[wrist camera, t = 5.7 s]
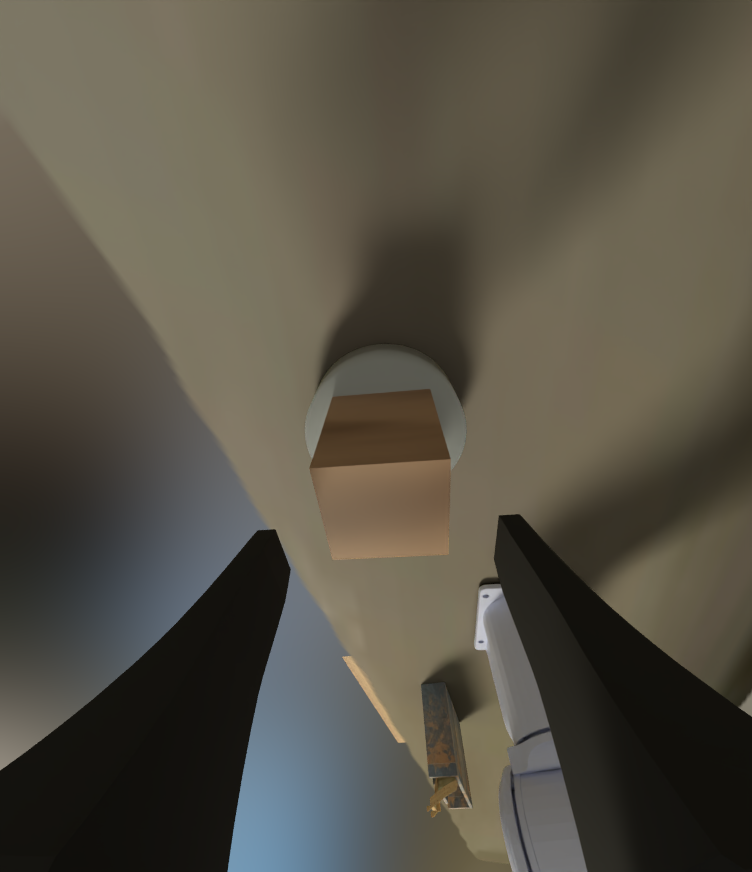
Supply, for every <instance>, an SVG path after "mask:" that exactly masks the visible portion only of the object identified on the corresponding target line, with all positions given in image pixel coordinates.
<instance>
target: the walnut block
mask: <svg viewBox="0 0 752 872" xmlns="http://www.w3.org/2000/svg"><path fill="white" fill-rule="evenodd" d="M309 469H310V473H311V477H312V481H313V485H314V489H315V492H316V496H317V500H318V504H319V508H320V512H321V516H322V520H323V524H324V528H325V532H326V536H327V540H328V544H329V548H330V551H331V555H332V559H333V560H340V559H362V558H384V557H406V556H428V555H448V550H449V512H450V473H451V458H450V455H449V451H448V448H447V444H446V441H445V438H444V434H443V431H442V427H441V424H440V421H439V417H438V414H437V410H436V407H435V404H434V400H433V397H432V393H431V390H430V389H421V390H409V391H397V392H385V393H372V394H360V395H348V396H336V397H332V400H331V403H330V406H329V409H328V412H327V415H326V418H325V422H324V425H323V428H322V431H321V434H320V437H319V440H318V443H317V446H316V449H315V453H314V456H313V459H312V462H311V465H310V468H309Z"/></svg>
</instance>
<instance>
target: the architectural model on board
mask: <svg viewBox="0 0 752 872" xmlns="http://www.w3.org/2000/svg"><path fill="white" fill-rule="evenodd" d="M342 658H343V659H344V661H345V662H346V664H347V665H348V667H349V668H350V670H351V672H352V673H353V675H354V676H355V678H356V679H357V681H358V682H359V684H360V685H361V687H362V688H363V690H364V691H365V693H366V694H367V696H368V698H369V699H370V701H371V702H372V704H373V705H374V707H375V708H376V710H377V711H378V713H379V714H380V716H381V717H382V719H383V720H384V722H385V724H386V725H387V727H388V728H389V730H390V731H391V733H392V734H393V736H394V737H395V739H396V740H397V742H398V743H404V742H405V741H404V739H403V738H402V736H401V735H400V734H399V733H398V732H397V730H396V729H395V727H394V726H393V725H392V722H391V721H390V718H389V716H388V713H387V712H386V710H385V708H384V707H383V705H382V704H381V703H380V702H379V700H378V698H377V697H376V695H375V693H374V691H373V689H372V686H371V685H370V683H369V680H368V679H367V678H366V677H365V675H364V674H363V672H362V670H361V669H360V668H359V667H358V665H357V664H356V663H355V662H354V660H353V659H352V657H351V656H345V657H342ZM421 688H422V700H423V712H424V724H425V736H426V748H427V760H428V771H429V778H433V784H434V785H435V794H434V795H433V796H432V797H431V798H430V804H431V805H430V806H427V811H429V810H430V809H431V808H432V810H433V811H431V817H434V816H435V815H436V814H437V813H438V812H439V811H441V808H440V801H441V800H442V799H443V800H444V802H445V804H448V809H463V808H473V807H472V800H471V794H470V788H469V781H468V775H467V768H466V762H465V756H464V749H463V743H462V736H461V730H460V724H459V720H458V717H457V715H456V712H455V709H454V706H453V704H452V701H451V698H450V695H449V693H448V690H447V687H446V684H445V682H440V683H430V684H421Z"/></svg>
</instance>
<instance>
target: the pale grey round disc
mask: <svg viewBox="0 0 752 872" xmlns="http://www.w3.org/2000/svg"><path fill="white" fill-rule="evenodd" d="M421 389H430V390H431V393H432V397H433V400H434V404H435V407H436V410H437V414H438V417H439V421H440V424H441V427H442V431H443V434H444V438H445V441H446V444H447V448H448V451H449V455H450V458H451V470H452V469H453V468H454V466H455V465H456V463H457V462H458V460H459V458H460V456H461V454H462V451H463V449H464V445H465V441H466V433H467V430H466V419H465V415H464V411H463V409H462V406H461V404H460V401H459V399H458V397H457V395H456V393H455V390H454V388H453V386H452V384H451V382H450V380H449V378H448V376H447V375H446V373H445V372H444V371H443V369H442V368H441V367H440V366H439V365H438V364H437V363H436V362H435V361H434V360H432V359H431V358H430V357H428V356H427V355H425V354H423V353H422V352H420V351H418V350H415V349H413V348H410V347H407V346H402V345H398V344H374V345H369V346H365V347H362V348H358V349H356V350H354V351H352V352H349V353H348V354H346V355H344V356H343V357H341V358H340V359H339V360H338V361H336V362H335V363H334V364H333V365H332V366H331V367H330V368H329V370H328V371H327V372H326V373H325V375H324V376H323V378H322V380H321V382H320V384H319V386H318V389H317V391H316V393H315V396H314V398H313V400H312V403H311V405H310V407H309V409H308V413H307V417H306V422H305V439H306V444H307V448H308V451H309V454H310V456H311V458H312V459H313V456H314V453H315V449H316V446H317V443H318V440H319V437H320V434H321V431H322V428H323V425H324V422H325V418H326V415H327V412H328V409H329V406H330V403H331V400H332V397H336V396H348V395H360V394H372V393H385V392H397V391H409V390H421Z"/></svg>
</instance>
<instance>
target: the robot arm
mask: <svg viewBox="0 0 752 872" xmlns="http://www.w3.org/2000/svg"><path fill="white" fill-rule="evenodd" d="M494 561H495V565H496V569H497V573H498V577H499V580H500V584H488V585H482V586H480V587H479V593H478V605H477V616H476V628H475V639H474V646H475V648H476V649H477V650H487V654H488V659H489V663H490V667H491V671H492V675H493V679H494V683H495V687H496V691H497V695H498V699H499V703H500V707H501V711H502V715H503V719H504V723H505V726H506V728H507V731H508V733H509V735H510V737H511V738H512V740H513V742H514V746H512V747H508V748H507V751H508V755H509V760H510V764H511V765H508V766H506V767H505V768H504V770H503V773H502V779H501V782H500V786H499V809H500V817H501V824H502V830H503V835H504V840H505V844H506V849H507V853H508V857H509V860H510V864H511V867H512V871H513V872H752V717H751V716H750V715H748V714H747V713H745V712H744V711H742V710H741V709H740V708H738V707H737V706H735V705H734V704H733V703H731V702H730V701H729V700H727V699H726V698H725V697H723V696H722V695H720V694H719V693H718V692H716V691H715V690H714V689H712V688H711V687H710V686H708V685H707V684H706V683H704V682H703V681H701V680H700V679H699V678H697V677H696V676H695V675H693V674H692V673H691V672H689V671H688V670H687V669H685V668H684V667H682V666H681V665H680V664H679V663H677V662H676V661H675V660H673V659H672V658H671V657H670V656H668V655H667V654H666V653H665V652H663V651H662V650H661V649H660V648H658V647H657V646H656V645H655V644H653V643H652V642H651V641H650V640H648V639H647V638H646V637H645V636H644V635H642V634H641V633H640V632H639V631H638V630H636V629H635V628H634V627H633V626H632V625H630V624H629V623H628V622H627V621H626V620H625V619H623V618H622V617H621V616H620V615H619V614H618V613H617V612H615V611H614V610H613V609H612V608H611V607H610V606H609V605H608V604H607V603H605V602H604V601H603V600H602V599H601V598H600V597H599V596H598V595H597V594H596V593H595V592H594V591H593V590H591V589H590V588H589V587H588V586H587V585H586V584H585V583H584V582H583V581H582V580H581V579H580V578H579V577H578V576H577V575H576V574H575V573H574V572H573V571H572V570H571V569H570V568H569V567H568V566H567V565H566V564H565V563H564V562H563V561H562V560H561V559H560V558H559V557H558V556H557V555H556V554H555V553H554V551H553V550H552V549H551V548H550V547H549V546H548V545H547V544H546V543H545V542H544V541H543V540H542V539H541V537H540V536H539V535H538V534H537V533H536V532H535V531H534V530H533V529H532V527H531V526H530V525H529V524H528V523H527V522H526V521H525V520H524V518H523V517H522V516H521V515H519V514H516V515H500V516H499V520H498V529H497V537H496V546H495V555H494ZM290 570H291V569H290V567H289V564H288V561H287V559H286V556H285V553H284V551H283V548H282V546H281V543H280V540H279V538H278V535H277V532H276V530H275V529H273V530H258V531H257V532H256V533H255V534H254V535H253V536H252V538H251V539H250V540H249V541H248V542H247V543H246V545H245V546H244V547H243V548H242V549H241V551H240V552H239V553H238V554H237V555H236V557H235V558H234V559H233V560H232V561H231V563H230V564H229V565H228V566H227V568H226V569H225V570H224V571H223V572H222V573H221V574H220V576H219V577H218V578H217V579H216V580H215V581H214V582H213V584H212V585H211V586H210V587H209V588H208V589H207V591H206V592H205V593H204V594H203V595H202V596H201V597H200V598H199V599H198V600H197V602H196V603H195V604H194V605H193V606H192V607H191V608H190V609H189V610H188V611H187V612H186V613H185V614H184V616H183V617H182V618H181V619H180V620H179V621H178V622H177V623H176V624H175V625H174V626H173V627H172V628H171V629H170V630H169V631H168V632H167V633H166V634H165V635H164V636H163V637H162V638H161V639H160V640H159V641H158V642H157V643H156V644H155V645H154V646H153V647H152V648H150V649H149V650H148V651H147V652H146V653H145V654H144V655H143V656H142V657H141V658H140V659H139V660H138V661H136V662H135V663H134V664H133V665H132V666H131V667H130V668H129V669H128V670H126V671H125V672H124V673H123V674H122V675H120V676H119V677H118V678H117V679H116V680H115V681H114V682H112V683H111V684H110V685H109V686H108V687H107V688H105V689H104V690H103V691H102V692H101V693H100V694H99V695H97V696H96V697H95V698H94V699H93V700H91V701H90V702H89V703H88V704H87V705H85V706H84V707H83V708H82V709H80V710H79V711H78V712H77V713H76V714H74V715H73V716H72V717H71V718H69V719H68V720H67V721H66V722H64V723H63V724H62V725H60V726H59V727H58V728H57V729H55V730H54V731H53V732H51V733H50V734H49V735H48V736H46V737H45V738H44V739H42V740H41V741H40V742H38V743H37V744H36V745H34V746H33V747H32V748H31V749H29V750H28V751H27V752H26V753H24V754H23V755H21V756H20V757H18V758H17V759H16V760H14V761H13V762H11V763H10V764H9V765H8V766H6V767H5V768H3V769H2V770H1V771H0V872H227V870H228V863H229V856H230V849H231V843H232V836H233V829H234V822H235V816H236V810H237V804H238V798H239V792H240V786H241V780H242V774H243V769H244V764H245V758H246V753H247V747H248V742H249V737H250V732H251V727H252V722H253V717H254V713H255V708H256V703H257V698H258V694H259V690H260V686H261V682H262V678H263V675H264V671H265V667H266V664H267V661H268V658H269V654H270V651H271V647H272V644H273V641H274V638H275V634H276V631H277V628H278V624H279V620H280V617H281V614H282V610H283V607H284V603H285V599H286V594H287V588H288V582H289V576H290Z"/></svg>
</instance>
